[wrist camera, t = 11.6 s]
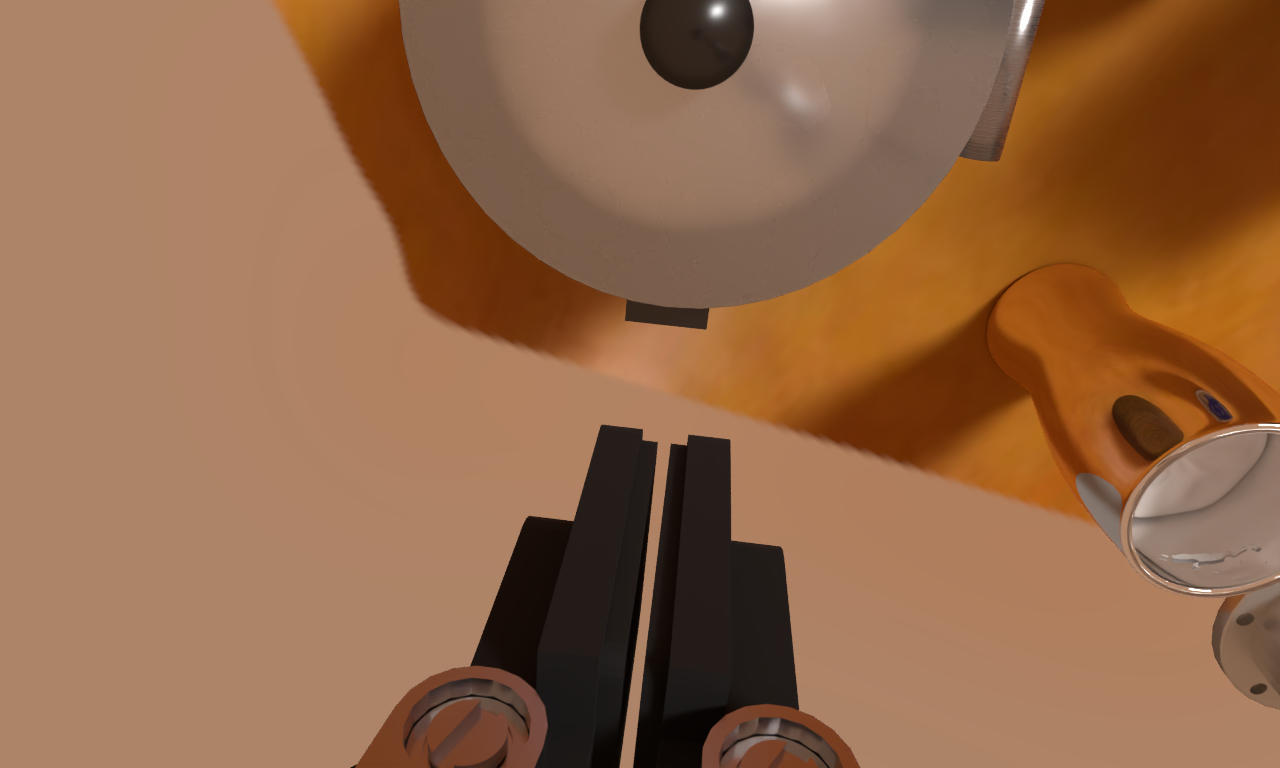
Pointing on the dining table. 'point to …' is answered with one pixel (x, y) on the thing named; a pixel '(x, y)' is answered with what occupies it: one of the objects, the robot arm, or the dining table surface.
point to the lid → (712, 128)
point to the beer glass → (1149, 431)
